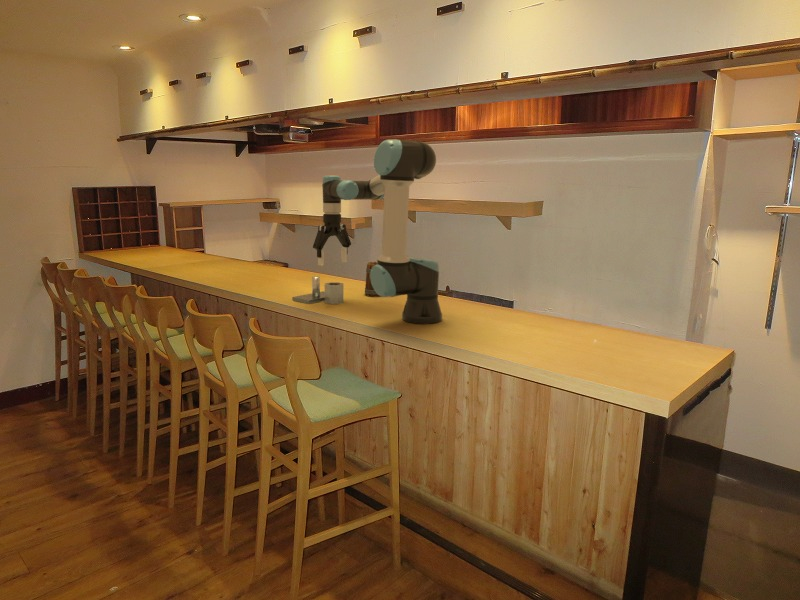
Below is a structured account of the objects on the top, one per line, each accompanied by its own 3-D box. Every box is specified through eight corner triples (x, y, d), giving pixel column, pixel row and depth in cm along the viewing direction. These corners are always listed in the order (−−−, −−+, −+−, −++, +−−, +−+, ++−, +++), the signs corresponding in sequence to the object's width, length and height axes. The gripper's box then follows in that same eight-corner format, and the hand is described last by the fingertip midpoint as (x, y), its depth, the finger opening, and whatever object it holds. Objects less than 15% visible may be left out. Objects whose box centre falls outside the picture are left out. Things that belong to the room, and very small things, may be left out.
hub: (347, 301, 231) (347, 283, 230) (333, 304, 225) (333, 286, 224) (334, 299, 236) (334, 281, 235) (321, 302, 230) (320, 284, 229)
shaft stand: (339, 297, 240) (339, 275, 238) (309, 304, 226) (308, 280, 224) (322, 294, 247) (322, 273, 245) (292, 300, 233) (291, 277, 231)
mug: (361, 296, 244) (361, 263, 241) (369, 292, 254) (369, 260, 251) (393, 298, 239) (393, 265, 236) (400, 294, 249) (401, 262, 246)
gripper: (346, 212, 234) (347, 260, 239) (303, 213, 215) (304, 265, 220) (359, 212, 230) (359, 261, 234) (315, 214, 211) (317, 267, 215)
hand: (332, 263), depth 227 cm, fingers open, 13 cm apart
